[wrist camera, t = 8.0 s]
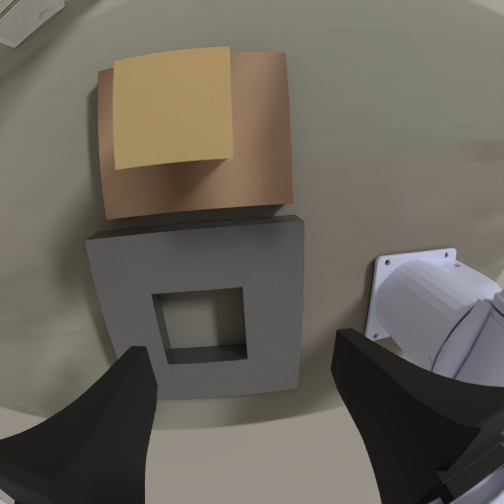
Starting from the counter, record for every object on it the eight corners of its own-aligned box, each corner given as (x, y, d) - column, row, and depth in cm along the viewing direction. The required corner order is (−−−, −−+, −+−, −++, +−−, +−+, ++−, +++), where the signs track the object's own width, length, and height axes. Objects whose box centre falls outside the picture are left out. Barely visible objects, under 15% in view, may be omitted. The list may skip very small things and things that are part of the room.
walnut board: (281, 58, 16) (285, 52, 15) (288, 200, 19) (292, 203, 18) (104, 76, 15) (98, 71, 13) (112, 216, 18) (106, 219, 17)
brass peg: (223, 95, 15) (229, 46, 8) (225, 159, 16) (233, 157, 9) (157, 101, 15) (114, 61, 7) (160, 164, 16) (115, 170, 8)
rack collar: (295, 214, 19) (304, 221, 17) (292, 372, 24) (298, 387, 22) (96, 232, 18) (84, 240, 16) (138, 383, 22) (134, 398, 20)
